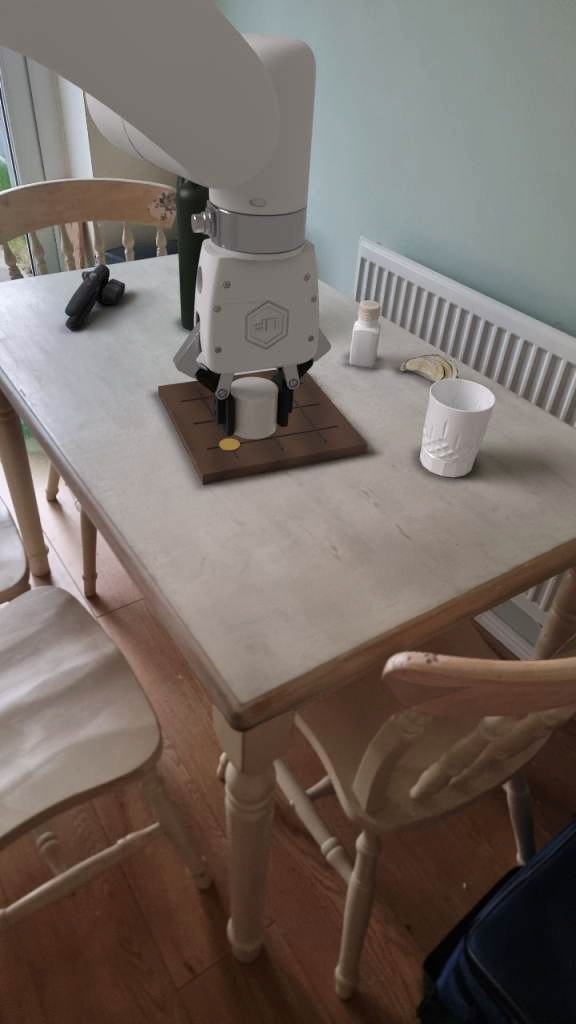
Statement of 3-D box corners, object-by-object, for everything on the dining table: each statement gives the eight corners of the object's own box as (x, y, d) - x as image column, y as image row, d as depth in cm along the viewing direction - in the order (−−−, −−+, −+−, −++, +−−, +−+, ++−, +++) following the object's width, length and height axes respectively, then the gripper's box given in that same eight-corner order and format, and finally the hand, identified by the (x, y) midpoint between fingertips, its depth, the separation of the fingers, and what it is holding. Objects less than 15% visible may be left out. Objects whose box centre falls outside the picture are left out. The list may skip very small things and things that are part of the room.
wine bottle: (200, 314, 120) (195, 118, 101) (222, 325, 117) (221, 126, 98) (174, 323, 117) (164, 122, 98) (196, 334, 114) (190, 130, 95)
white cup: (439, 438, 94) (454, 372, 87) (488, 464, 90) (508, 396, 83) (402, 460, 89) (416, 391, 83) (453, 488, 85) (471, 419, 79)
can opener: (94, 289, 126) (90, 258, 123) (130, 294, 125) (127, 262, 122) (49, 329, 113) (43, 295, 109) (89, 335, 112) (85, 301, 108)
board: (202, 484, 83) (202, 473, 82) (158, 395, 98) (157, 385, 97) (366, 453, 90) (367, 442, 89) (300, 374, 105) (301, 364, 104)
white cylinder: (237, 442, 64) (237, 405, 61) (222, 417, 67) (222, 380, 64) (283, 434, 65) (286, 397, 62) (267, 410, 68) (268, 373, 66)
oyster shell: (410, 402, 109) (467, 390, 102) (396, 395, 107) (453, 382, 100) (412, 366, 110) (468, 352, 103) (398, 358, 108) (455, 343, 101)
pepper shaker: (373, 369, 108) (382, 311, 102) (348, 366, 108) (355, 307, 102) (376, 358, 111) (384, 301, 105) (351, 354, 111) (358, 297, 105)
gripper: (162, 250, 49) (175, 461, 61) (375, 234, 54) (349, 431, 66) (139, 217, 54) (155, 417, 66) (336, 206, 60) (318, 392, 71)
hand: (252, 422), depth 66 cm, fingers closed on white cylinder, 4 cm apart
